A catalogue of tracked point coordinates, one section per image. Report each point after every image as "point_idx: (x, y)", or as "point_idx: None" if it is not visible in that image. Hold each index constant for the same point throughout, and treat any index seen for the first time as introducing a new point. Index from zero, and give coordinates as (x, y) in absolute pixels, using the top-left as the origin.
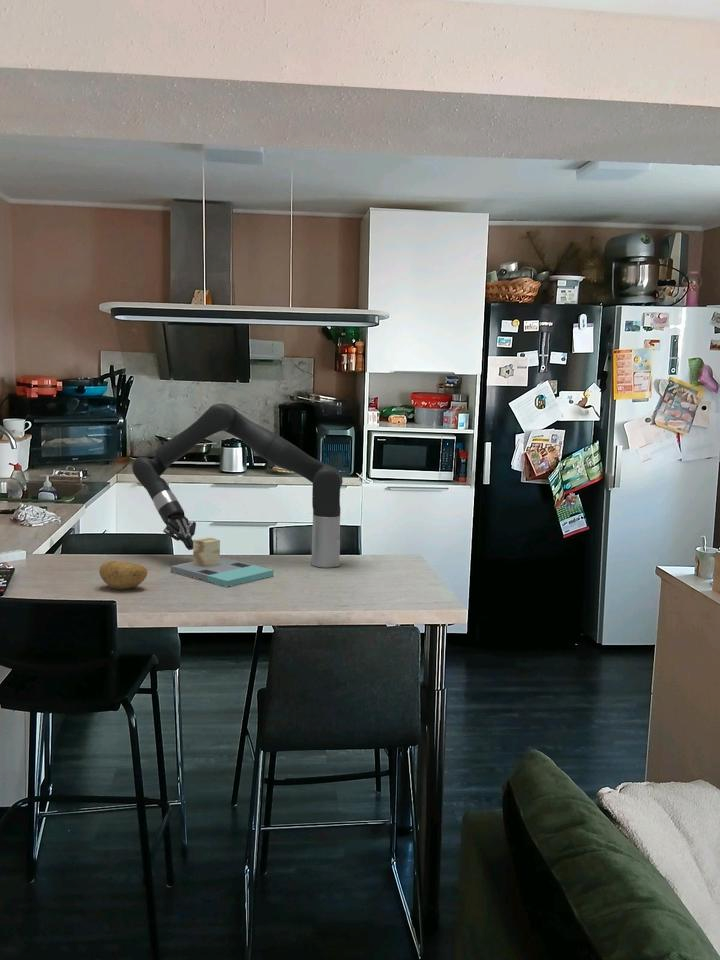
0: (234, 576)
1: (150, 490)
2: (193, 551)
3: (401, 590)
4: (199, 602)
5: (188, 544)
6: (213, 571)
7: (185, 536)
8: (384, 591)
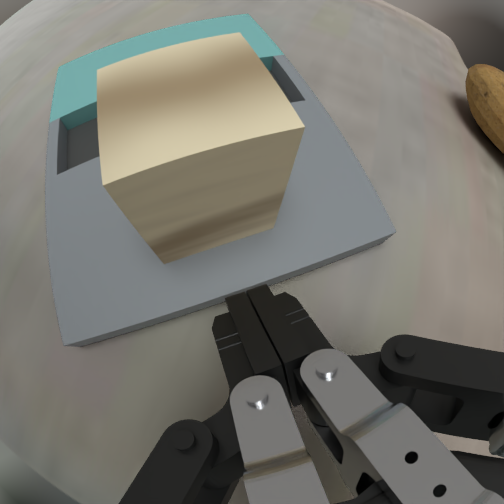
0: (203, 29)
1: None
2: (284, 186)
3: (21, 20)
4: (342, 5)
5: (292, 303)
6: None
7: (330, 361)
8: (37, 14)
